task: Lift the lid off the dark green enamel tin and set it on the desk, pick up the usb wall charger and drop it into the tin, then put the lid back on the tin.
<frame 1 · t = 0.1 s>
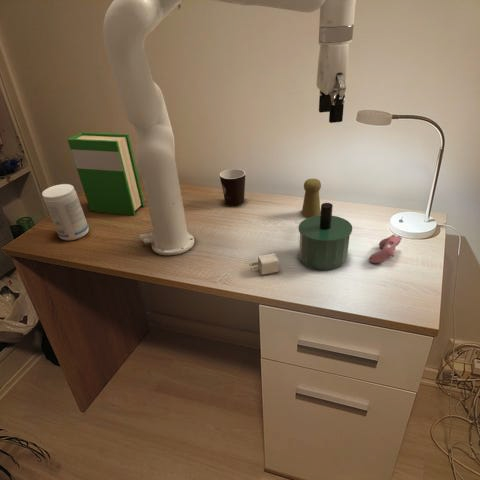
hand: (330, 116, 105), 31 cm above the table, tool pointing down, fingers open, 9 cm apart
olive pawn figure: (311, 214, 133), on the table
pink toy animal: (384, 257, 111), on the table
tin lid: (325, 229, 107), point 8 cm above the table, touching tin
tin: (323, 257, 113), on the table
supplement tub: (74, 234, 133), on the table
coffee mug: (234, 201, 144), on the table
usb wall charger: (263, 271, 109), on the table
hardback book: (117, 208, 145), on the table
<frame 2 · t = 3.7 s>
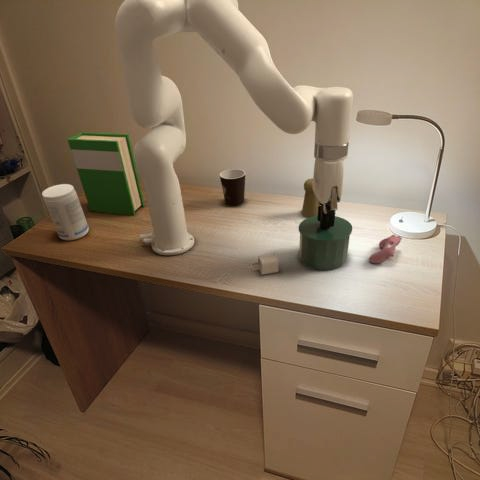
hand: (325, 222, 106), 10 cm above the table, tool pointing down, fingers closed on tin lid, 2 cm apart
tin lid: (325, 229, 107), point 9 cm above the table, touching gripper, tin
everything else where it was.
when the fingers open (2 cm above the table, at t = 10.8 s): tin lid stays where it is, point 1 cm above the table.
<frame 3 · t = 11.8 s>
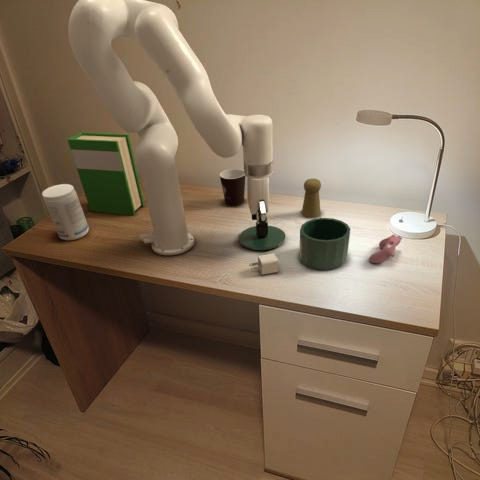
hand: (259, 227, 119), 4 cm above the table, tool pointing down, fingers open, 9 cm apart
tin lid: (262, 238, 122), point 1 cm above the table
everything else where it was.
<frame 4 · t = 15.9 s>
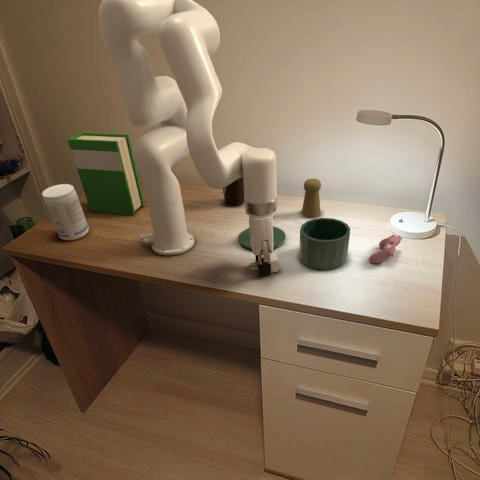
hand: (263, 269, 109), 0 cm above the table, tool pointing down, fingers closed on usb wall charger, 4 cm apart
usb wall charger: (263, 271, 110), on the table, touching gripper
everything else where it was.
when the fingers open (11 cm above the table, at t = 20.4 s): usb wall charger drops 8 cm, resting on tin.
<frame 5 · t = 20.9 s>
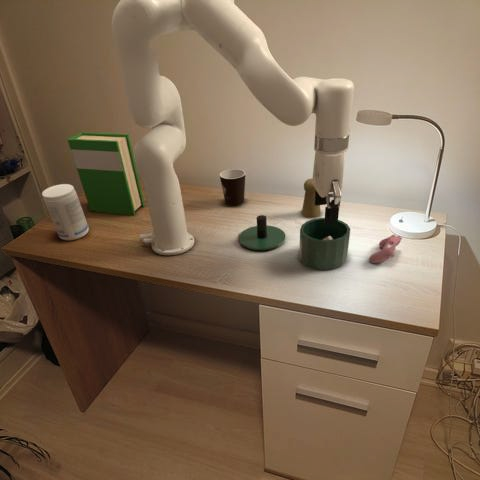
hand: (325, 212, 104), 13 cm above the table, tool pointing down, fingers open, 9 cm apart
usb wall charger: (323, 249, 110), point 3 cm above the table, touching tin
everything else where it was.
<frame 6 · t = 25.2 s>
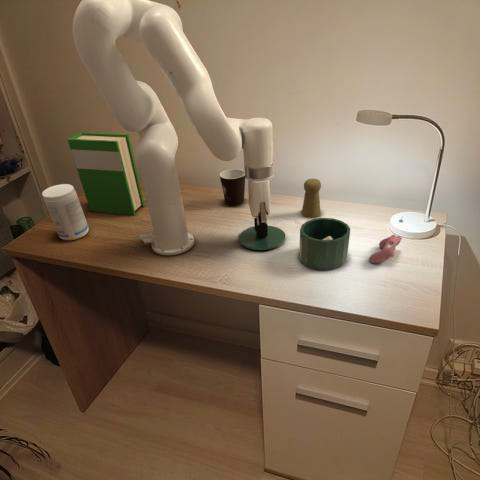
hand: (261, 232, 120), 2 cm above the table, tool pointing down, fingers closed on tin lid, 2 cm apart
tin lid: (262, 238, 122), point 1 cm above the table, touching gripper
everything else where it was.
when the fingers open (10 cm above the table, at t = 32.2 s): tin lid stays where it is, resting on tin, usb wall charger.
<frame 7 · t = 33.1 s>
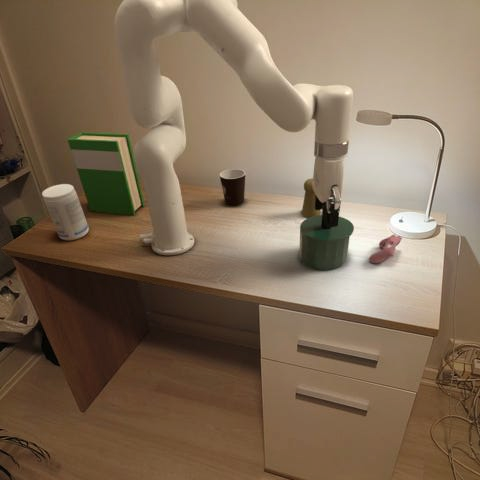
hand: (325, 217, 105), 12 cm above the table, tool pointing down, fingers open, 9 cm apart
tin lid: (326, 228, 107), point 9 cm above the table, touching tin, usb wall charger
usb wall charger: (323, 249, 110), point 3 cm above the table, touching tin, tin lid
everything else where it was.
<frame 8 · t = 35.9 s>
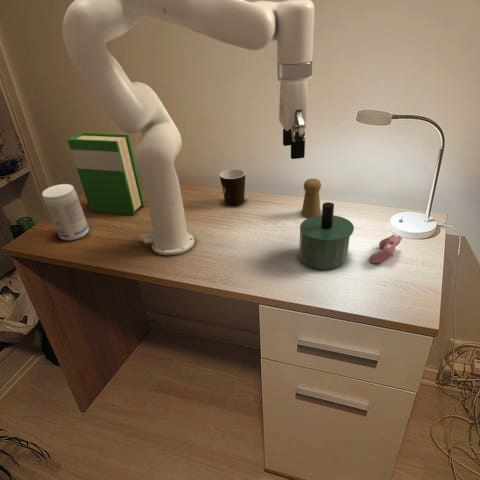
hand: (293, 151, 101), 26 cm above the table, tool pointing down, fingers open, 9 cm apart
nothing on the table moved.
at the end: usb wall charger inside the target area in the tin (0.5 cm from its centre), point 2.8 cm above the tin's base; tin lid 0.4 cm off-centre on the tin, point 8.6 cm above the tin's base; tin lid tilted 0° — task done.
